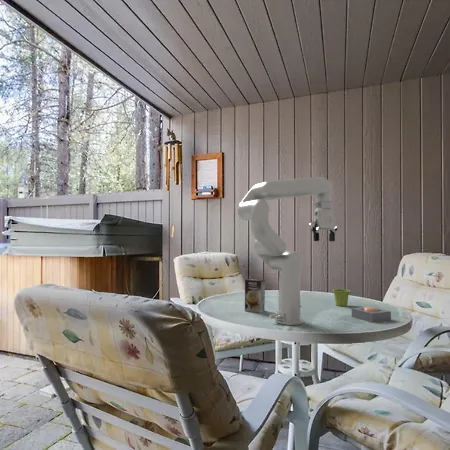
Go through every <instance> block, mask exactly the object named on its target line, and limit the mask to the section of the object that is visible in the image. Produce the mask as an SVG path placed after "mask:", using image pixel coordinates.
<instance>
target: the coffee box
mask: <svg viewBox="0 0 450 450" xmlns="http://www.w3.org/2000/svg"><path fill="white" fill-rule="evenodd" d="M265 300H266V280H265V279H259V278H258V279H257V278H256V279H255V278H246V279H244V311H245V312H251V313H252V312H253V313H259V314H261V313H263V312H265V311H266V307H265V305H266V301H265Z"/></svg>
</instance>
